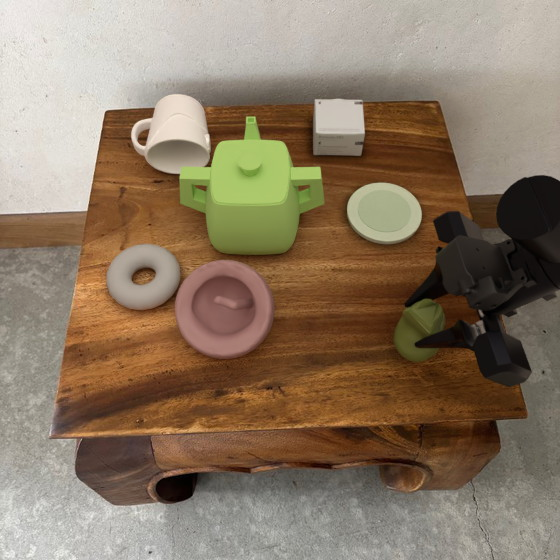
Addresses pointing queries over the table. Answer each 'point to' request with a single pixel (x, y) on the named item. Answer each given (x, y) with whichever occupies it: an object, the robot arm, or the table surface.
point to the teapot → (251, 194)
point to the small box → (338, 127)
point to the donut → (147, 293)
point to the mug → (175, 135)
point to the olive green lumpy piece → (418, 329)
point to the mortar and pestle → (224, 309)
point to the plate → (384, 213)
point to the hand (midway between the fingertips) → (411, 325)
